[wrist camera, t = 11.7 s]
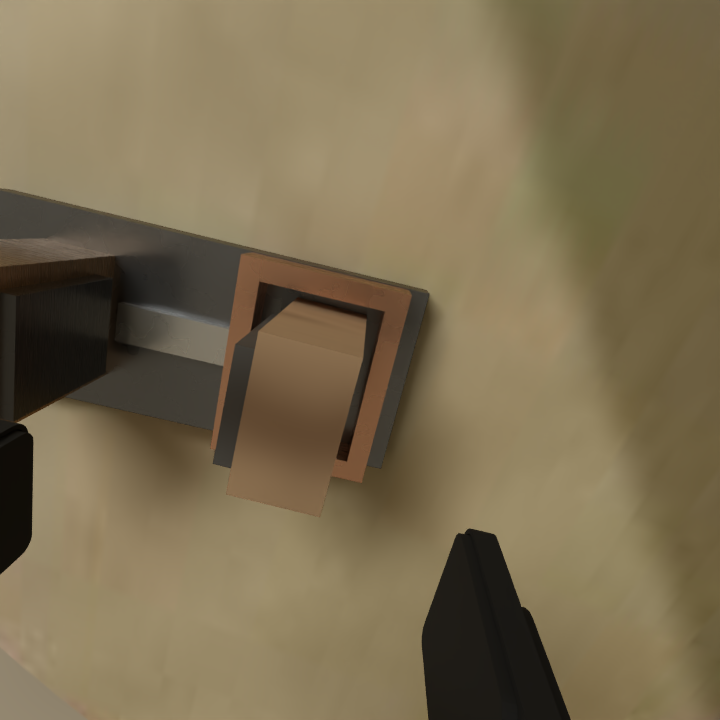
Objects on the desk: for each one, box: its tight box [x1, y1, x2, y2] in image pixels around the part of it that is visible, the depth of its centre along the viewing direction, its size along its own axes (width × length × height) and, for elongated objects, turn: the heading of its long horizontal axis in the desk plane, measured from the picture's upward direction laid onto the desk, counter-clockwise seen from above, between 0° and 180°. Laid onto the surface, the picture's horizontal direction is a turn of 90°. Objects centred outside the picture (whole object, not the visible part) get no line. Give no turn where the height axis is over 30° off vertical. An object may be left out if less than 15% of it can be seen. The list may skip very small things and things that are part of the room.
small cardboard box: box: [213, 297, 367, 517], centre depth 20 cm, size 6×4×8 cm
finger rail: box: [0, 188, 429, 483], centre depth 20 cm, size 22×10×10 cm, turn 77°
